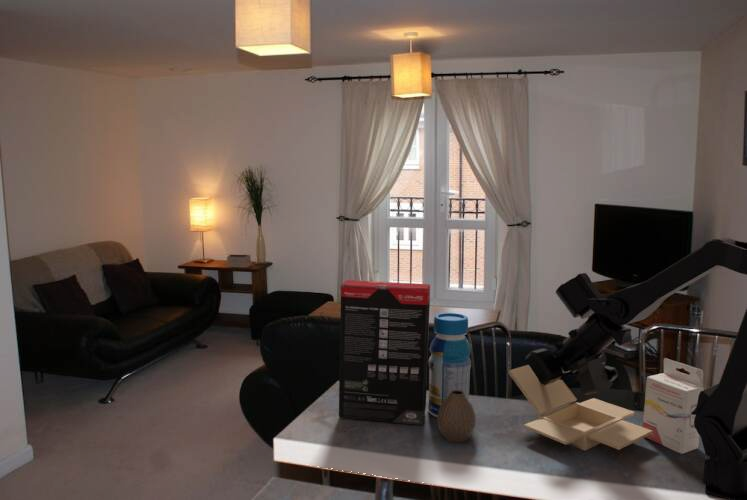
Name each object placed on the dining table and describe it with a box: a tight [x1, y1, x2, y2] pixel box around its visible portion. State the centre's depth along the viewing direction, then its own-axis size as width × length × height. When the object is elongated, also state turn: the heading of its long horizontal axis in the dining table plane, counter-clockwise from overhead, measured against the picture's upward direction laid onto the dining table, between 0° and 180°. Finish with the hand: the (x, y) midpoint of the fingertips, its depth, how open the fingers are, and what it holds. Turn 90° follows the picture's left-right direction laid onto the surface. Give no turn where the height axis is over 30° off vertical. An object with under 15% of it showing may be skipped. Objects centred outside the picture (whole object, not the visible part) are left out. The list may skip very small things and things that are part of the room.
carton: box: [523, 397, 652, 452], centre depth 117 cm, size 16×22×3 cm
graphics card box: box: [338, 279, 431, 426], centre depth 124 cm, size 17×7×27 cm, turn 82°
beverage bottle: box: [427, 312, 472, 419], centre depth 127 cm, size 8×8×20 cm
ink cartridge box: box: [642, 357, 705, 455], centre depth 115 cm, size 9×5×15 cm, turn 29°
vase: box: [437, 390, 476, 443], centre depth 116 cm, size 7×7×9 cm
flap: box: [507, 364, 578, 416], centre depth 126 cm, size 1×12×10 cm
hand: (541, 381), depth 126 cm, fingers closed, pressing on flap
